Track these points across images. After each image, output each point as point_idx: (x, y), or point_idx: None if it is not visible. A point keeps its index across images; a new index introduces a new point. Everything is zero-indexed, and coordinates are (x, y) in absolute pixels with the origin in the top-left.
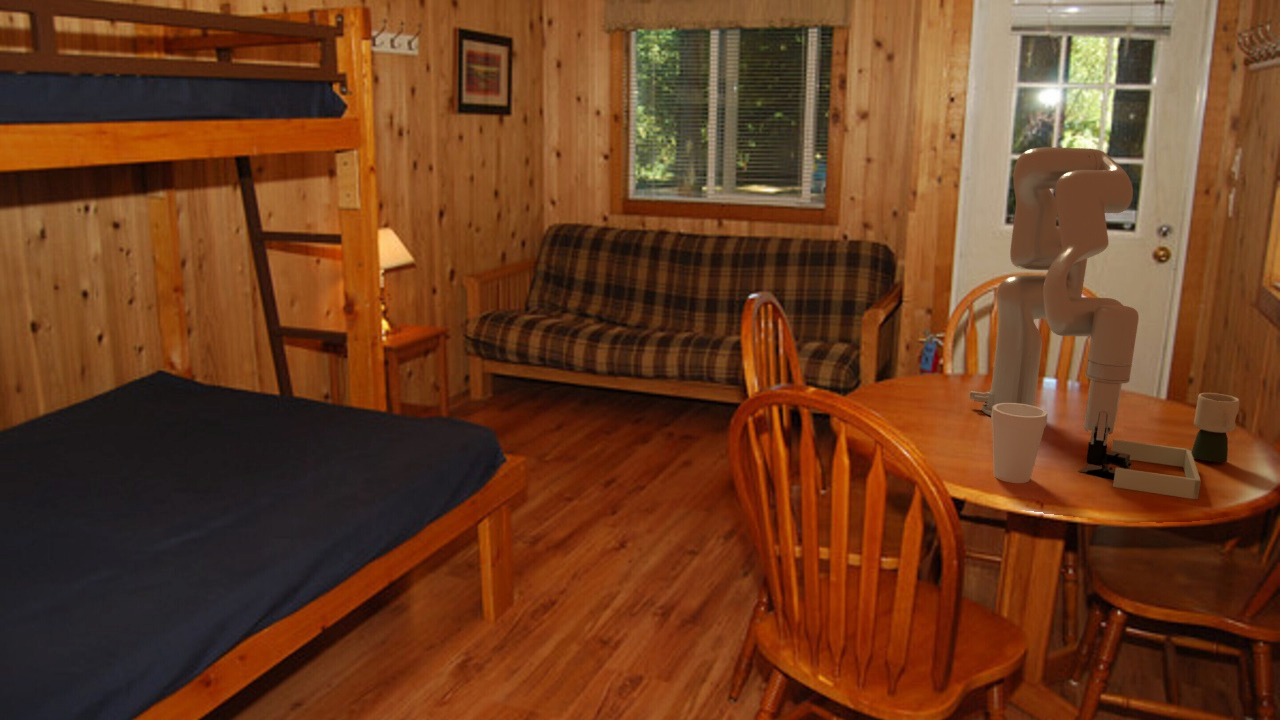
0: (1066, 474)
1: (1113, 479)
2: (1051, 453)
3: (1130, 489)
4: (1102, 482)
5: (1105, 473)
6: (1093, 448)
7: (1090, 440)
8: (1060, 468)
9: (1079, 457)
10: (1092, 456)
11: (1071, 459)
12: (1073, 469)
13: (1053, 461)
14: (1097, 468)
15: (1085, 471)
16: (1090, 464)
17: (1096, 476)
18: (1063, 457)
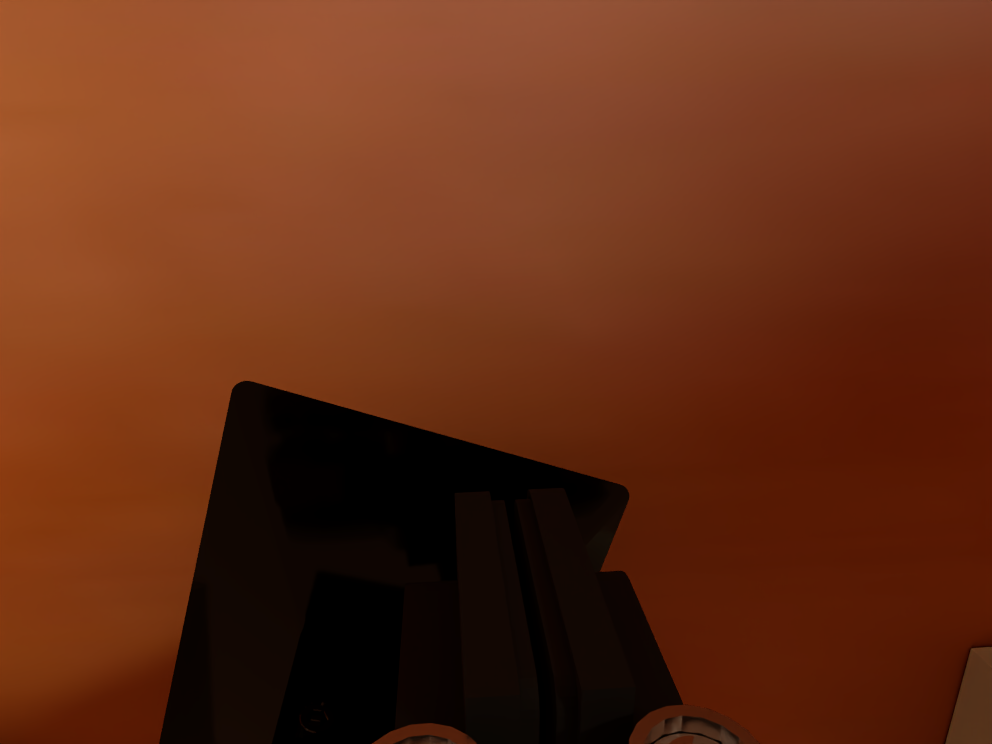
0: (23, 257)
1: (184, 718)
2: (918, 10)
3: None
4: (14, 636)
5: (271, 664)
6: (395, 727)
7: (687, 717)
8: (251, 167)
9: (854, 372)
10: (405, 621)
11: (735, 288)
12: (312, 331)
13: (537, 54)
14: (443, 579)
15: (279, 467)
16: (621, 495)
17: (197, 573)
18: (785, 186)
